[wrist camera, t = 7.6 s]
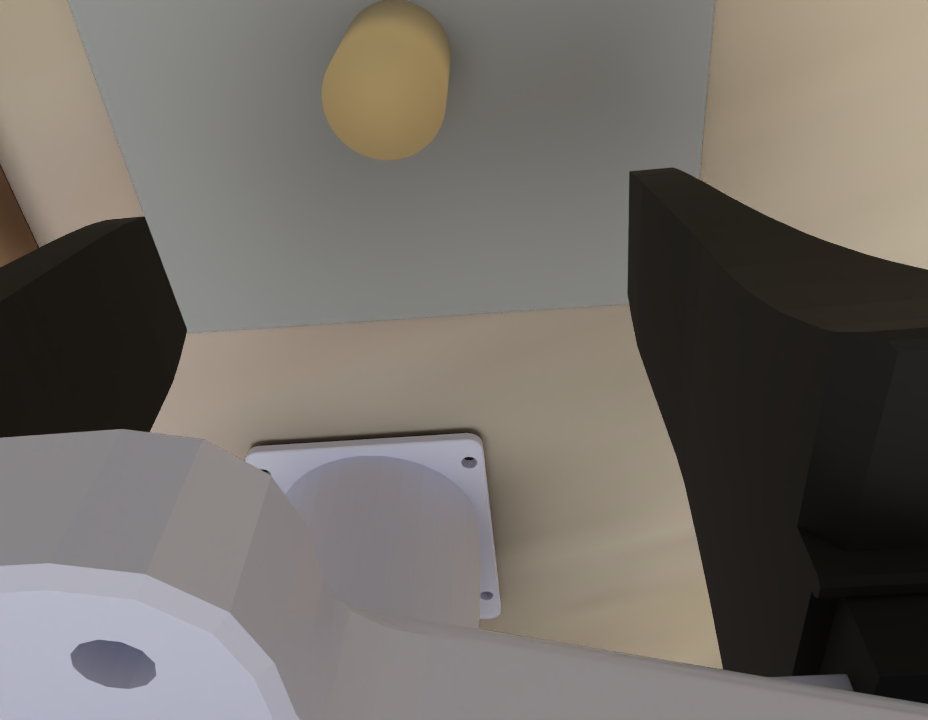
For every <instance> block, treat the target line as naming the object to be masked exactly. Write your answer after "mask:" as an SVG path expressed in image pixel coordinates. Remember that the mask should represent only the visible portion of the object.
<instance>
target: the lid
mask: <svg viewBox="0 0 928 720" xmlns="http://www.w3.org/2000/svg"><path fill="white" fill-rule="evenodd" d="M67 1H68V4H69V7H70V9H71V12H72V15H73V18H74V21H75V23H76V26H77V29H78V32H79V35H80V37H81V40H82V43H83V46H84V49H85V51H86V54H87V57H88V60H89V62H90V65H91V68H92V71H93V74H94V76H95V79H96V82H97V85H98V88H99V90H100V93H101V96H102V99H103V102H104V104H105V107H106V110H107V113H108V116H109V118H110V121H111V124H112V127H113V130H114V132H115V135H116V138H117V141H118V144H119V146H120V149H121V152H122V155H123V157H124V160H125V163H126V166H127V169H128V171H129V174H130V177H131V180H132V183H133V185H134V188H135V191H136V194H137V197H138V199H139V202H140V205H141V208H142V211H143V213H144V216H145V218H146V221H147V224H148V226H149V229H150V232H151V234H152V237H153V240H154V242H155V245H156V248H157V250H158V253H159V256H160V258H161V261H162V264H163V266H164V269H165V272H166V274H167V277H168V280H169V282H170V285H171V288H172V290H173V293H174V296H175V298H176V301H177V304H178V306H179V309H180V312H181V314H182V317H183V320H184V322H185V325H186V328H187V333H201V332H216V331H231V330H246V329H261V328H276V327H291V326H306V325H321V324H336V323H351V322H366V321H381V320H396V319H411V318H426V317H442V316H457V315H472V314H487V313H502V312H517V311H532V310H547V309H562V308H577V307H592V306H607V305H622V304H629V300H628V294H627V290H628V226H629V171H638V170H649V169H660V168H671V167H673V168H676V169H679V170H681V171H684V172H686V173H688V174H690V175H691V176H693V177H695V178H697V179H699V176H700V165H701V154H702V143H703V132H704V120H705V109H706V98H707V87H708V76H709V65H710V54H711V42H712V31H713V20H714V9H715V0H67Z"/></svg>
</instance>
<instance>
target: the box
mask: <svg viewBox="0 0 928 720" xmlns="http://www.w3.org/2000/svg"><path fill="white" fill-rule="evenodd" d="M36 249H38V247H37V244H36V242H35V240H34V238H33V236H32V234H31V231H30V229H29V227H28V225H27V223H26V221H25V219H24V216H23V214H22V212H21V210H20V208H19V206H18V203H17V201H16V199H15V197H14V195H13V193H12V191H11V188H10V186H9V184H8V182H7V180H6V178H5V175H4V173H3V171H2V169H1V167H0V267H2V266H4V265H6V264H8V263H10V262H12V261H14V260H16V259H18V258H20V257H22V256H24V255H26V254H28V253H30V252H32V251H34V250H36Z"/></svg>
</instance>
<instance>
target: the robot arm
mask: <svg viewBox="0 0 928 720" xmlns="http://www.w3.org/2000/svg"><path fill="white" fill-rule="evenodd" d="M627 294H628V300H629V305H630V311H631V316H632V322H633V327H634V332H635V336H636V341H637V346H638V349H639V352H640V355H641V358H642V361H643V364H644V367H645V369H646V372H647V375H648V378H649V381H650V384H651V386H652V389H653V392H654V395H655V398H656V400H657V403H658V406H659V409H660V412H661V414H662V417H663V420H664V423H665V425H666V428H667V431H668V434H669V437H670V439H671V442H672V445H673V448H674V451H675V453H676V456H677V459H678V463H679V466H680V469H681V473H682V476H683V479H684V483H685V487H686V492H687V496H688V501H689V505H690V510H691V514H692V518H693V523H694V527H695V532H696V536H697V541H698V546H699V550H700V555H701V560H702V565H703V570H704V574H705V579H706V584H707V589H708V593H709V598H710V603H711V608H712V613H713V619H714V624H715V629H716V634H717V639H718V645H719V650H720V655H721V660H722V665H723V670H722V669H716V668H710V667H704V666H698V665H692V664H686V663H680V662H674V661H668V660H662V659H656V658H650V657H644V656H638V655H632V654H626V653H620V652H614V651H608V650H602V649H596V648H591V647H585V646H579V645H573V644H567V643H561V642H555V641H549V640H543V639H537V638H531V637H525V636H519V635H513V634H507V633H501V632H495V631H489V630H483V629H480V619H492V618H495V617H497V616H499V615H500V613H501V599H500V590H499V581H498V572H497V564H496V555H495V546H494V537H493V528H492V519H491V511H490V502H489V493H488V484H487V475H486V466H485V458H484V449H483V442H482V440H481V439H480V438H479V437H478V436H477V435H475V434H471V433H460V434H444V435H428V436H412V437H395V438H379V439H363V440H347V441H331V442H315V443H299V444H283V445H267V446H256V447H253V448H251V449H250V450H249V451H248V453H247V456H246V459H245V461H243V460H241V459H240V458H238V457H236V456H234V455H232V454H230V453H228V452H227V451H225V450H223V449H221V448H219V447H217V446H215V445H213V444H212V443H210V442H208V441H206V440H204V439H198V438H190V437H182V436H174V435H166V434H158V433H150V430H151V428H152V426H153V424H154V422H155V419H156V417H157V415H158V413H159V411H160V409H161V407H162V405H163V402H164V400H165V398H166V396H167V394H168V392H169V389H170V387H171V385H172V383H173V380H174V377H175V373H176V370H177V367H178V364H179V360H180V357H181V353H182V349H183V345H184V341H185V337H186V333H187V328H186V325H185V322H184V320H183V317H182V314H181V312H180V309H179V306H178V304H177V301H176V298H175V296H174V293H173V290H172V288H171V285H170V282H169V280H168V277H167V274H166V272H165V269H164V266H163V264H162V261H161V258H160V256H159V253H158V250H157V248H156V245H155V242H154V240H153V237H152V234H151V232H150V229H149V226H148V224H147V221H146V218H145V217H134V218H123V219H112V220H105V221H101V222H98V223H94V224H91V225H88V226H86V227H83V228H81V229H78V230H76V231H74V232H71V233H69V234H67V235H65V236H63V237H60V238H58V239H56V240H54V241H52V242H50V243H48V244H46V245H44V246H42V247H40V248H38V249H36V250H34V251H32V252H30V253H28V254H26V255H24V256H22V257H20V258H18V259H16V260H14V261H12V262H10V263H8V264H6V265H4V266H2V267H0V720H928V270H926V269H922V268H917V267H913V266H909V265H904V264H900V263H896V262H891V261H888V260H884V259H881V258H877V257H873V256H870V255H866V254H863V253H860V252H857V251H854V250H851V249H848V248H845V247H842V246H839V245H836V244H833V243H830V242H827V241H824V240H821V239H819V238H816V237H814V236H811V235H809V234H806V233H804V232H801V231H799V230H797V229H795V228H792V227H790V226H788V225H786V224H783V223H781V222H779V221H777V220H774V219H772V218H770V217H768V216H766V215H764V214H762V213H760V212H758V211H756V210H754V209H752V208H750V207H748V206H746V205H744V204H742V203H740V202H739V201H737V200H735V199H733V198H731V197H729V196H728V195H726V194H724V193H722V192H720V191H719V190H717V189H715V188H713V187H711V186H710V185H708V184H706V183H704V182H703V181H701V180H699V179H697V178H695V177H693V176H691V175H690V174H688V173H686V172H684V171H681V170H679V169H676V168H673V167H671V168H660V169H649V170H638V171H629V226H628V290H627ZM465 457H473V458H475V459H473V460H466V459H464V458H465ZM260 469H264V470H267V471H269V472H264V471H262V470H260ZM486 591H487V592H486Z"/></svg>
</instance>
